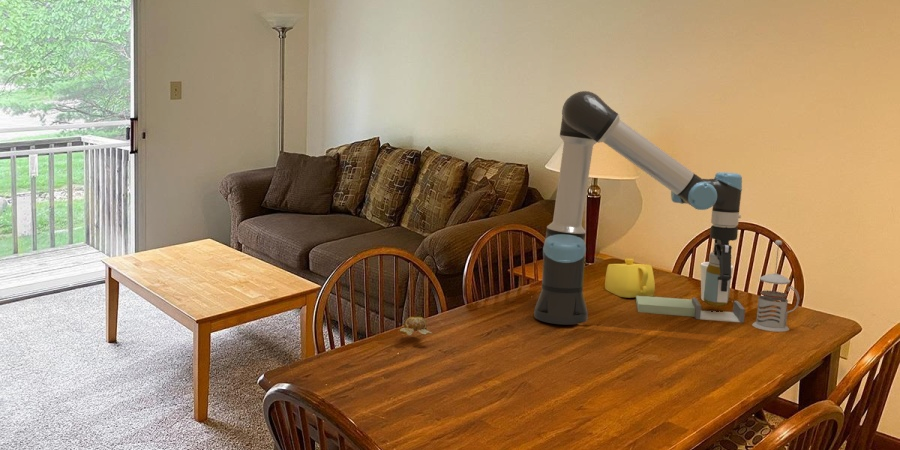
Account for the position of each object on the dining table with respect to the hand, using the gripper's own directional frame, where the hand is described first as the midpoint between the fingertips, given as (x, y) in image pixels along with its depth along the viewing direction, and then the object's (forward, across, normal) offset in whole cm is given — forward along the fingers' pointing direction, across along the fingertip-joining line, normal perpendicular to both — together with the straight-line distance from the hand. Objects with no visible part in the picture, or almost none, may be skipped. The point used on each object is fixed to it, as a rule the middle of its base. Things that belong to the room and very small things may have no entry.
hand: (718, 297), depth 233 cm
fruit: (+8, -47, +80) cm, 93 cm away
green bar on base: (+6, +2, +10) cm, 12 cm away
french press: (+6, -8, -14) cm, 18 cm away
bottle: (+3, +4, 0) cm, 5 cm away
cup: (+6, +16, -2) cm, 18 cm away
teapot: (+5, +17, +25) cm, 31 cm away
